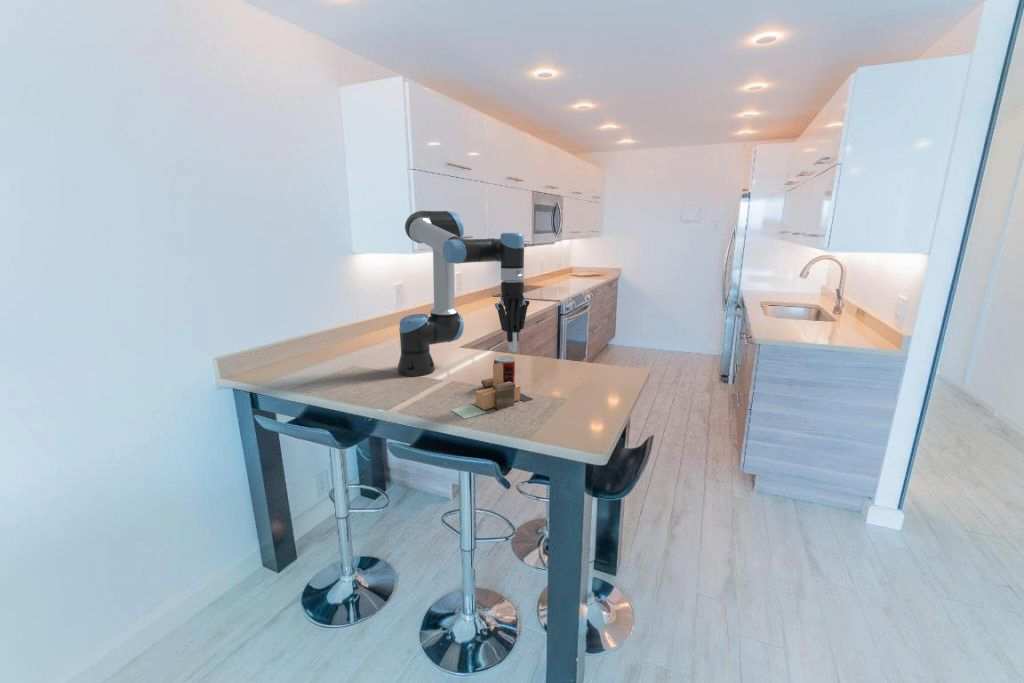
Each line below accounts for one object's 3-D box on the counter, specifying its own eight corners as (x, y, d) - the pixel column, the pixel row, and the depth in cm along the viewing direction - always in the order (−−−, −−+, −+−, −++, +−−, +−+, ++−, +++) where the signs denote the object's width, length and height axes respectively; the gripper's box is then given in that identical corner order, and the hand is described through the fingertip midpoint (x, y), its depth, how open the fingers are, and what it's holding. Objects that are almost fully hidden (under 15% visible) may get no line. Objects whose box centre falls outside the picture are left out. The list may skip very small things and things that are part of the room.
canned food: (503, 381, 181) (502, 354, 179) (519, 386, 176) (519, 358, 174) (489, 386, 176) (489, 358, 173) (506, 391, 171) (505, 362, 168)
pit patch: (510, 395, 167) (510, 394, 167) (519, 392, 169) (519, 392, 169) (524, 401, 160) (524, 401, 160) (533, 399, 163) (533, 398, 163)
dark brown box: (481, 401, 161) (481, 380, 159) (498, 397, 165) (498, 376, 163) (498, 410, 153) (498, 388, 151) (515, 405, 157) (515, 383, 155)
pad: (450, 410, 153) (450, 409, 153) (471, 404, 158) (471, 404, 158) (465, 419, 146) (465, 418, 146) (486, 413, 151) (486, 412, 151)
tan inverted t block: (475, 405, 156) (475, 366, 153) (511, 395, 165) (511, 358, 162) (484, 409, 152) (483, 369, 149) (520, 399, 161) (520, 362, 158)
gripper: (503, 283, 146) (503, 356, 151) (535, 280, 153) (534, 349, 159) (489, 281, 152) (490, 351, 157) (521, 278, 159) (521, 345, 165)
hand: (512, 350), depth 158 cm, fingers closed
